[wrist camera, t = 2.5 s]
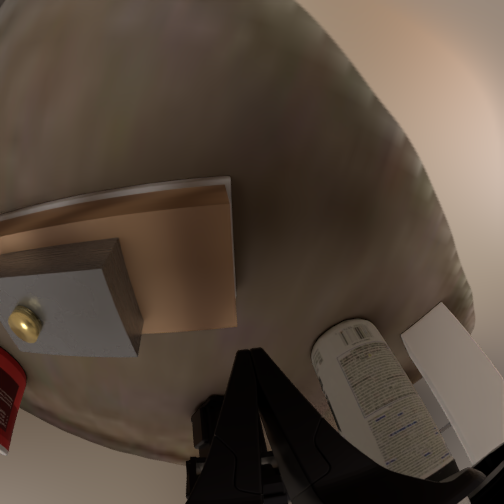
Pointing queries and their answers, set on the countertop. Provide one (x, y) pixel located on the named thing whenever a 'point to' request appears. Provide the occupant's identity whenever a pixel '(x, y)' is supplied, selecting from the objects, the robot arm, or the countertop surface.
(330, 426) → the robot arm
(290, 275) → the countertop surface
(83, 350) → the lever cap
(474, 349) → the milk
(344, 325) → the spray can
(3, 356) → the canned food
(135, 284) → the body
